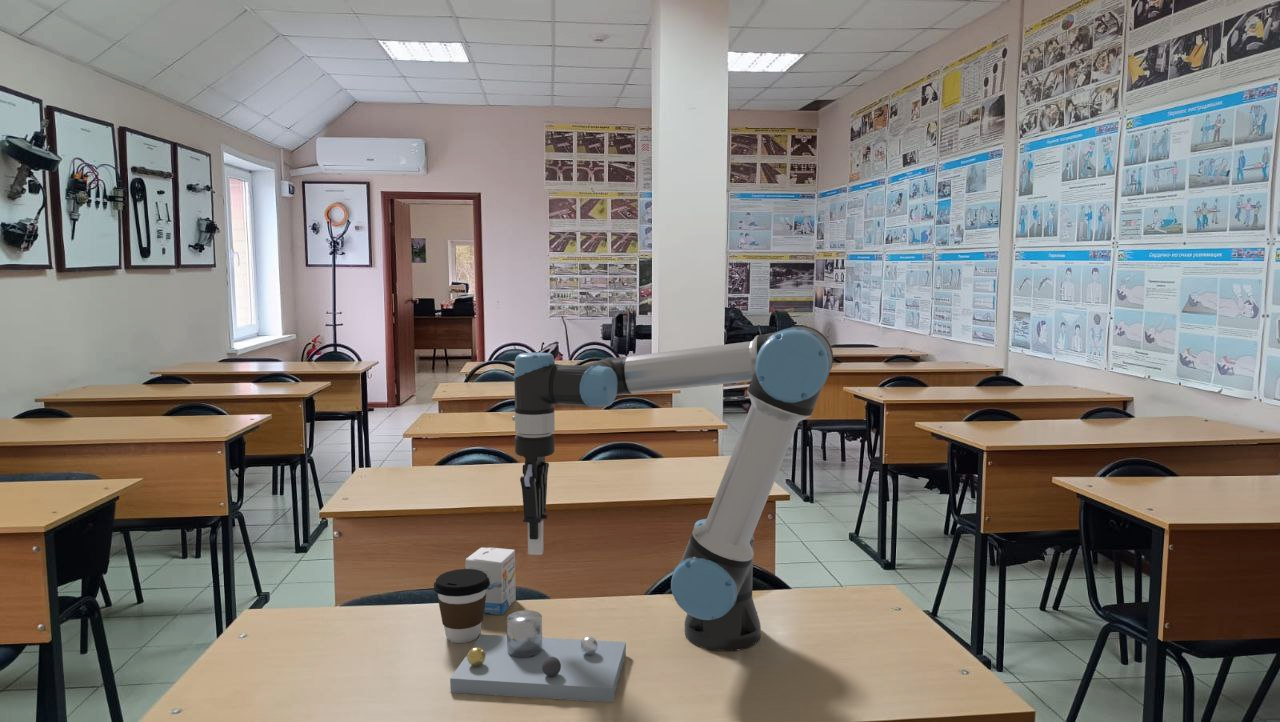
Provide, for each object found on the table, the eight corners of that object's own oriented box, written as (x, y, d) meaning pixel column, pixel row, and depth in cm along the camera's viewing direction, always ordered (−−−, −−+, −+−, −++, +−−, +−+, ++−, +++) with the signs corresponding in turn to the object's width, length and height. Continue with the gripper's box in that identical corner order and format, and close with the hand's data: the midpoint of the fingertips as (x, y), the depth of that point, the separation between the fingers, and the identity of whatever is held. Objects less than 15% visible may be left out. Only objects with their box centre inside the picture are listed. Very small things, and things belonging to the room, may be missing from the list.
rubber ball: (562, 671, 136) (562, 653, 136) (558, 680, 133) (558, 662, 133) (544, 670, 137) (544, 652, 136) (540, 679, 134) (540, 661, 133)
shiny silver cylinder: (545, 641, 147) (545, 611, 146) (537, 658, 141) (537, 625, 140) (512, 640, 148) (512, 609, 147) (502, 656, 141) (502, 624, 141)
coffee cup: (472, 652, 149) (471, 591, 148) (423, 644, 152) (421, 584, 151) (501, 628, 159) (500, 571, 158) (454, 621, 163) (452, 565, 161)
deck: (625, 654, 148) (625, 642, 148) (612, 702, 131) (612, 688, 131) (481, 646, 151) (481, 634, 151) (450, 692, 134) (450, 678, 134)
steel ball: (599, 650, 144) (599, 633, 144) (596, 658, 141) (596, 641, 141) (582, 649, 145) (582, 632, 144) (578, 657, 141) (578, 640, 141)
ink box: (502, 615, 165) (501, 562, 164) (464, 612, 167) (463, 559, 166) (517, 599, 174) (516, 548, 172) (481, 596, 175) (480, 545, 174)
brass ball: (488, 661, 140) (487, 644, 140) (482, 670, 137) (482, 652, 137) (470, 660, 140) (470, 643, 140) (464, 669, 137) (464, 651, 137)
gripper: (524, 426, 157) (525, 541, 159) (505, 439, 144) (507, 564, 146) (561, 427, 156) (561, 543, 158) (545, 441, 143) (546, 566, 145)
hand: (535, 553), depth 152 cm, fingers closed
